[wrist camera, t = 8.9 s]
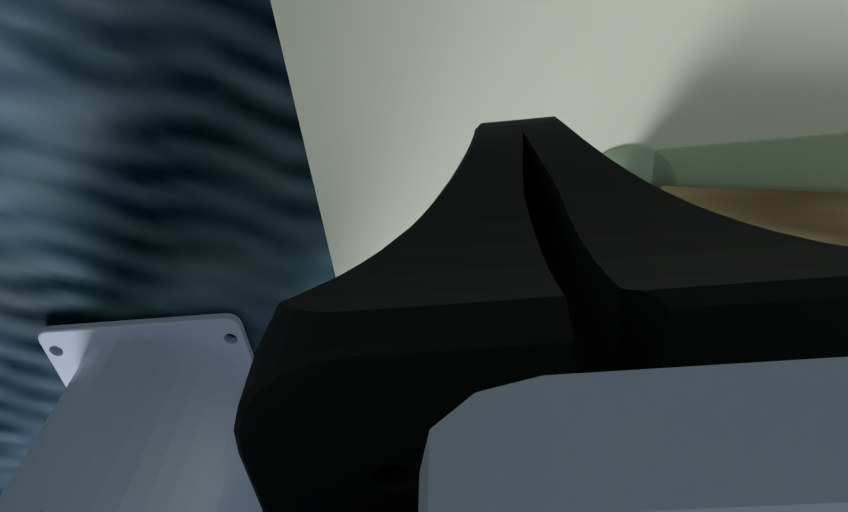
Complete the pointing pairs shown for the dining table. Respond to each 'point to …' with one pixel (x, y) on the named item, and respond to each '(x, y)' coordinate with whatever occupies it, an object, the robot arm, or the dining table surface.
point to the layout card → (560, 94)
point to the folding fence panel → (777, 210)
